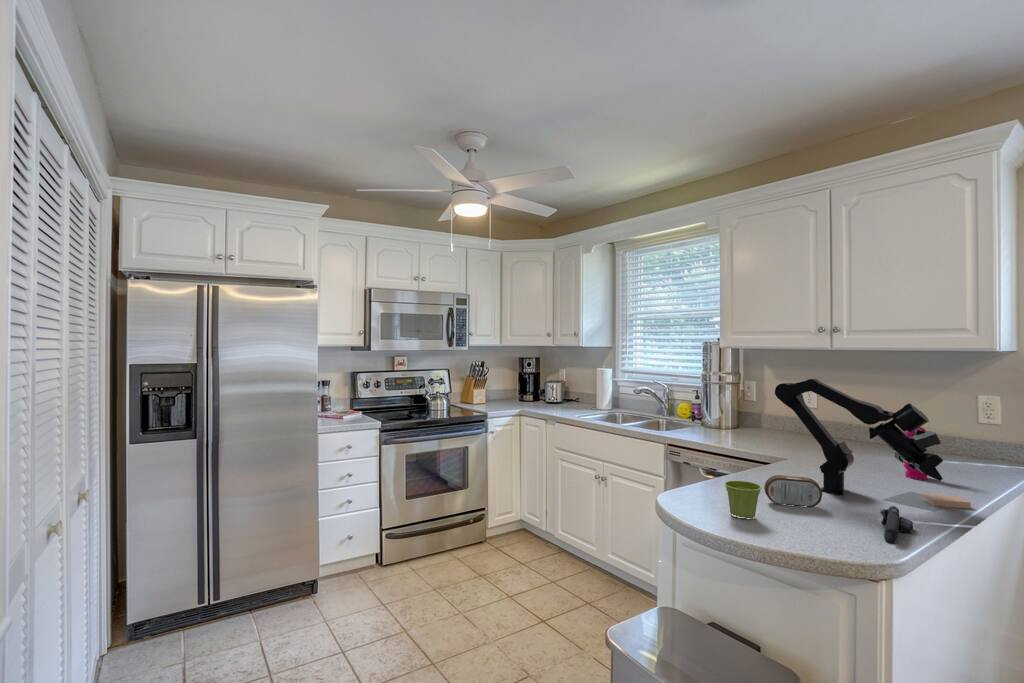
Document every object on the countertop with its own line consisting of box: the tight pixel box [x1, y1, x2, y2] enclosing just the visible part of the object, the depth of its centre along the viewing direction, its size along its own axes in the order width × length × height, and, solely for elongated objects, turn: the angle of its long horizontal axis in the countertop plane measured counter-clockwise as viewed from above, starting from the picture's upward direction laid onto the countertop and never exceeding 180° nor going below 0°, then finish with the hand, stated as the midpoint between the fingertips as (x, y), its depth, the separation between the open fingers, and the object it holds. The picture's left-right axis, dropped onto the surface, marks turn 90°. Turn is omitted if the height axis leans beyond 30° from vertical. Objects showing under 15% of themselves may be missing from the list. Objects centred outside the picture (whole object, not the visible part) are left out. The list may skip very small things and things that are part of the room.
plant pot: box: [724, 480, 763, 518], centre depth 144 cm, size 9×9×9 cm
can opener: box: [879, 505, 914, 544], centre depth 131 cm, size 18×7×6 cm, turn 139°
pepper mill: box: [903, 426, 928, 480], centre depth 189 cm, size 7×7×20 cm
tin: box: [764, 474, 823, 508], centre depth 155 cm, size 15×3×8 cm, turn 71°
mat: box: [882, 491, 946, 513], centre depth 158 cm, size 18×13×1 cm
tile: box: [921, 492, 972, 509], centre depth 155 cm, size 2×7×9 cm
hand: (940, 479), depth 155 cm, fingers closed
